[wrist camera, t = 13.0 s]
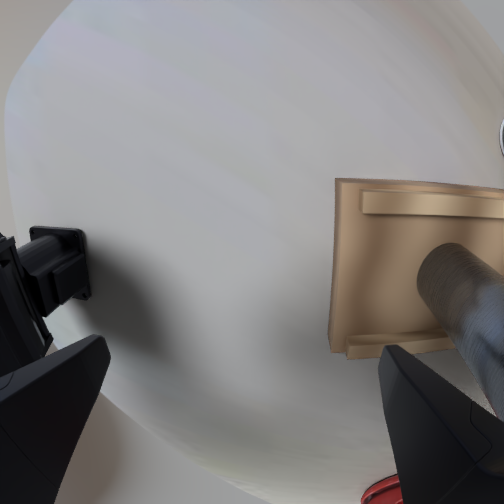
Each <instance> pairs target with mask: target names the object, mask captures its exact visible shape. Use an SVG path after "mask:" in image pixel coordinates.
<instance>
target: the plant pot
mask: <svg viewBox="0 0 504 504" xmlns="http://www.w3.org/2000/svg"><path fill="white" fill-rule="evenodd" d="M361 504H403V500H402V494H401V488H400V483H399V478H398V475H396V476H393V477H390V478H387V479H385V480H383V481H381V482H379V483H377V484H374V485H373V486H372V487H371V488H369V489H368V490H367V491H366V492H365V493H364V495H363V496H362V498H361Z"/></svg>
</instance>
